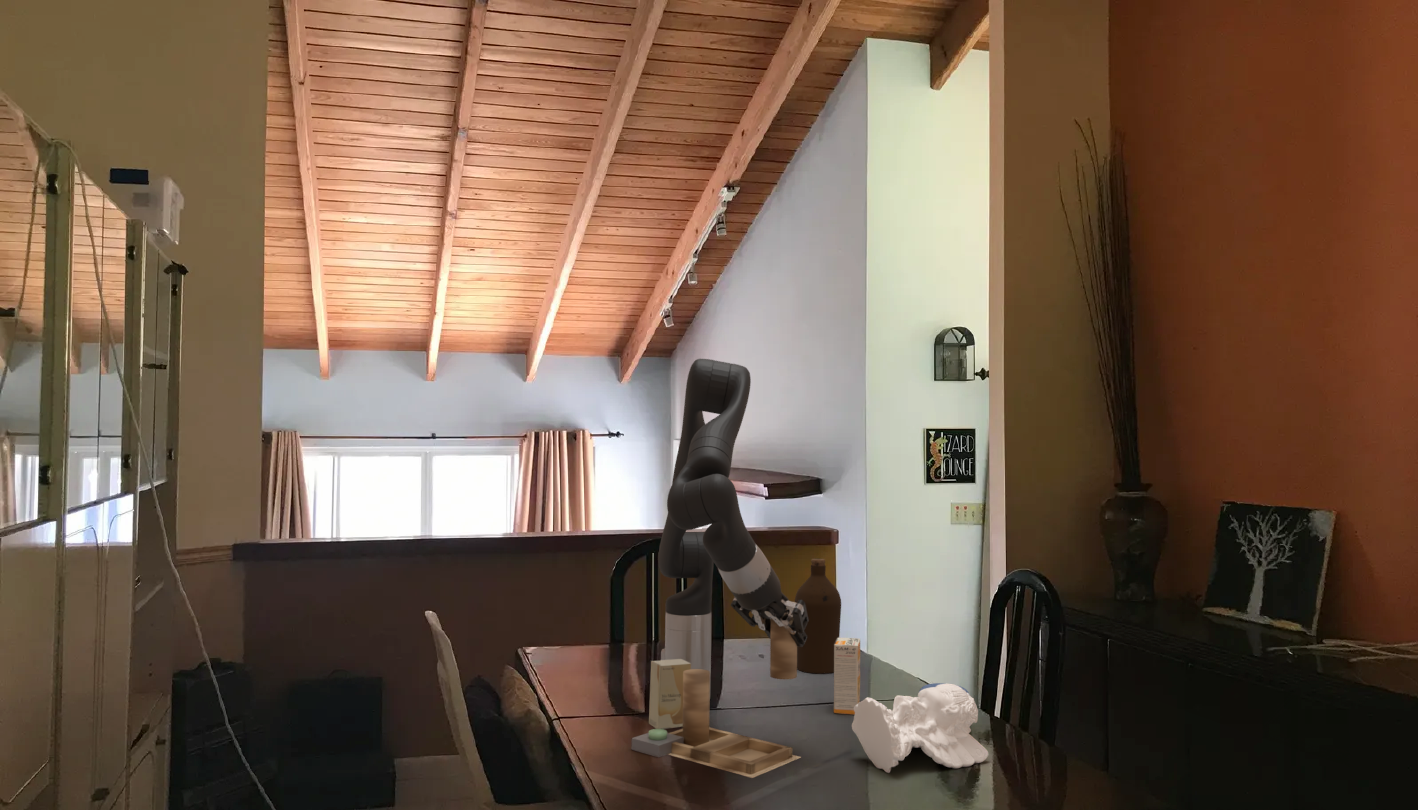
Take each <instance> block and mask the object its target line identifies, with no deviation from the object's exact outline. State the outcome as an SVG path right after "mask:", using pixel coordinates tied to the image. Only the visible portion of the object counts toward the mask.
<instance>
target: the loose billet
mask: <svg viewBox="0 0 1418 810" xmlns="http://www.w3.org/2000/svg"><path fill="white" fill-rule="evenodd" d="M793 602H794V603H796V602H795V601H793ZM781 619H782V618H781ZM792 622H793V621H792V620H791V619H790V621H789V624H790V625H791V624H792ZM769 639H770V646H769V647H770V649H769V651H770V653H769V656H770V658H769V659H770V660H769V661H770V662H769V665H770V666H769V671H770V672H769V673H770V674H769V676H770V678H772V679H777V680H793V679H797V678H798V669H797V645H796V643H795V641H794V640H793V638H792V637H791V635H790V633H789V632H788V631H787V630H786V629H785V628H784V627H780V626H779V625H778V624H777V623H776V622H775V621H774V620H773V619H771V636H770V638H769Z"/></svg>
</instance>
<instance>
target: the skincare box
mask: <svg viewBox="0 0 1418 810" xmlns="http://www.w3.org/2000/svg"><path fill="white" fill-rule="evenodd" d="M689 669H691V663H689V662H687V661H685V660H683V659H673V660H661V659H660V660H650V680H649V681H650V682H649V683H650V684H649V707H648V708H649V711H648V712H649V714H648V725H650V726H652V727H653V728H654V729H664V730H666V729H673V728H680V727H681V728H683V672H684V671H685V670H689Z"/></svg>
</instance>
